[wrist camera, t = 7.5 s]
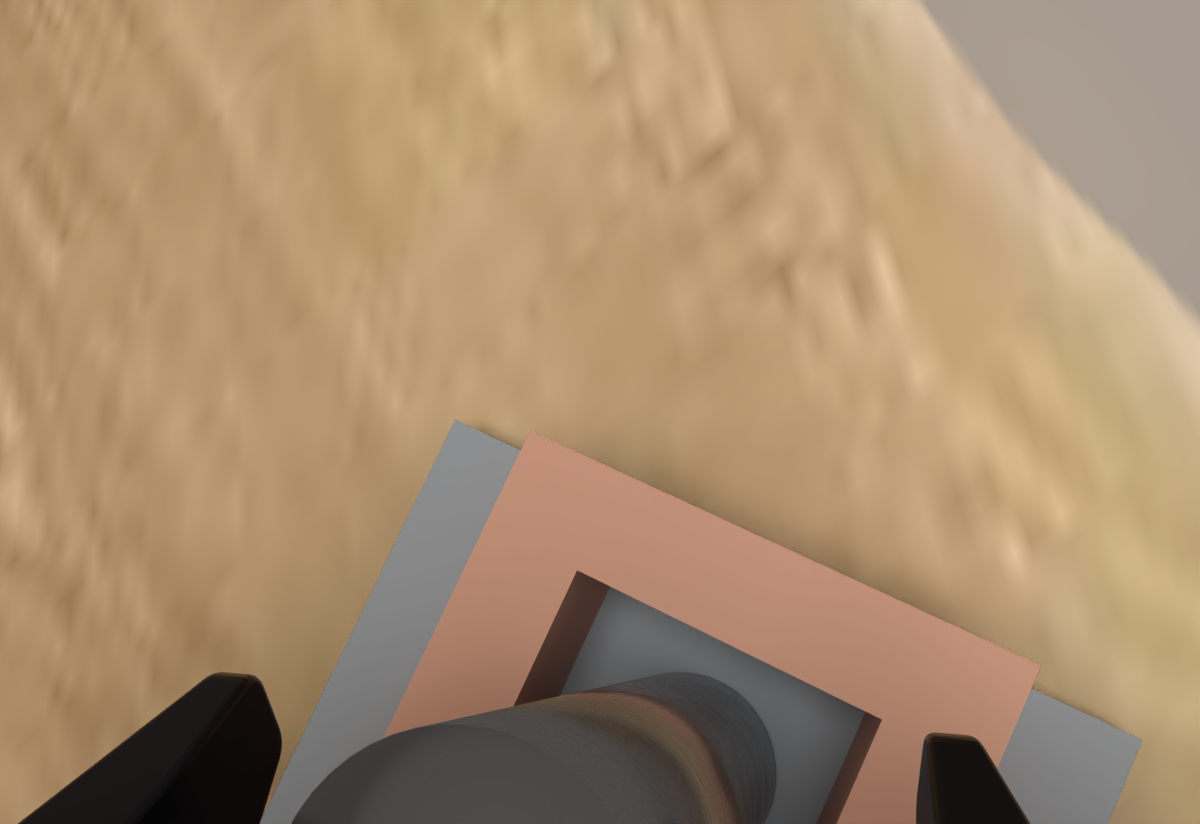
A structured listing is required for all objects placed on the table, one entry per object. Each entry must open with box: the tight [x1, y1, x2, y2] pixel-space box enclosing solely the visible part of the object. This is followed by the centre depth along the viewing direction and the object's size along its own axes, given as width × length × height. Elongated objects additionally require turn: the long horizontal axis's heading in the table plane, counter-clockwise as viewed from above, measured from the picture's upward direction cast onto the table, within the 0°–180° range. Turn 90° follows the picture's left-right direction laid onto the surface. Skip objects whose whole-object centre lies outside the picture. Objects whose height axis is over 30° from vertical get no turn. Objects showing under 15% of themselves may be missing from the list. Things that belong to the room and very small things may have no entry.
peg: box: [291, 672, 777, 824], centre depth 13 cm, size 3×3×10 cm
